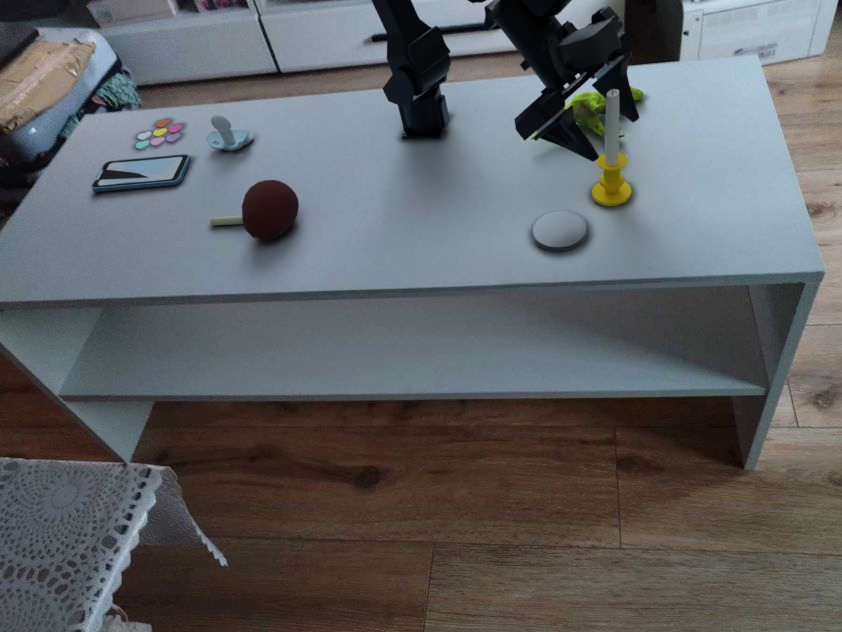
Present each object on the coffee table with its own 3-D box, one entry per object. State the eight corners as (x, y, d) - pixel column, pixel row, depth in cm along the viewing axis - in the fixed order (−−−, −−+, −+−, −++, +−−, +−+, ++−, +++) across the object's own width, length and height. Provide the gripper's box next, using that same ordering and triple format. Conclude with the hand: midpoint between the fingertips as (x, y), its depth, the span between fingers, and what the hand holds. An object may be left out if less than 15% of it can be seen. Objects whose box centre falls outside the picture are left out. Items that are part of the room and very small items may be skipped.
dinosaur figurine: (581, 175, 98) (580, 137, 93) (528, 150, 103) (524, 113, 98) (670, 107, 104) (673, 68, 100) (616, 86, 110) (616, 49, 105)
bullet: (215, 221, 103) (265, 218, 102) (213, 227, 103) (263, 224, 101) (211, 215, 102) (262, 212, 101) (209, 221, 102) (259, 218, 100)
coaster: (529, 251, 90) (528, 246, 89) (536, 214, 94) (536, 210, 93) (584, 252, 88) (584, 248, 87) (589, 215, 92) (589, 211, 92)
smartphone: (177, 181, 110) (88, 189, 112) (180, 186, 111) (92, 193, 113) (190, 153, 115) (105, 160, 117) (193, 158, 116) (108, 165, 117)
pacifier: (223, 134, 119) (207, 154, 115) (208, 100, 114) (191, 120, 110) (262, 133, 117) (247, 154, 113) (248, 99, 112) (232, 120, 109)
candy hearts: (134, 151, 120) (133, 150, 119) (141, 126, 125) (140, 125, 125) (179, 141, 119) (179, 139, 119) (184, 116, 125) (184, 115, 124)
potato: (300, 215, 104) (315, 202, 99) (261, 255, 100) (275, 243, 95) (261, 177, 101) (275, 161, 96) (220, 216, 97) (232, 202, 92)
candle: (597, 210, 93) (597, 104, 81) (587, 186, 96) (585, 81, 84) (636, 201, 92) (641, 94, 81) (624, 178, 96) (628, 72, 84)
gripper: (525, 35, 73) (616, 154, 76) (622, -41, 81) (700, 70, 84) (478, 87, 83) (560, 190, 86) (568, 15, 91) (640, 112, 94)
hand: (616, 139), depth 87 cm, fingers open, 9 cm apart
